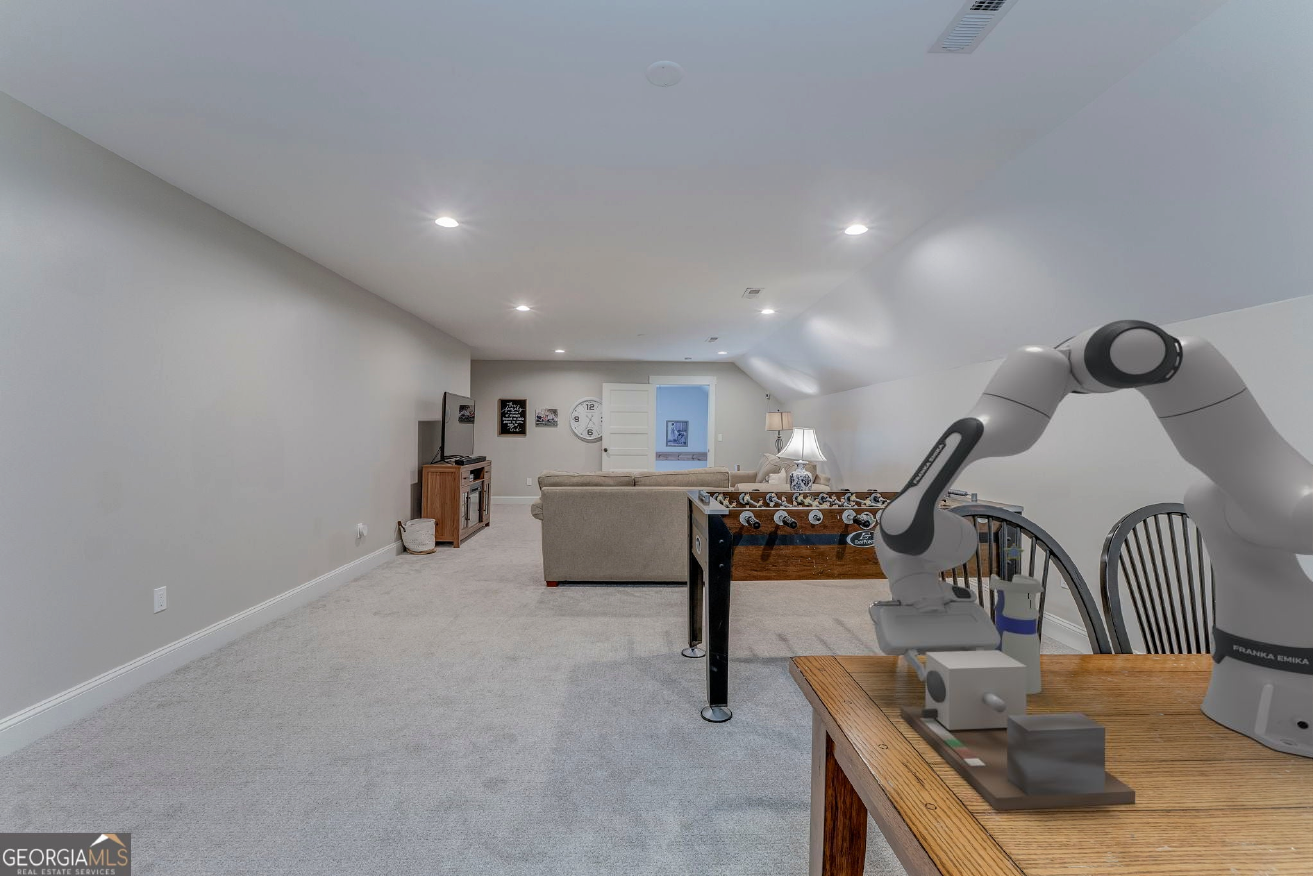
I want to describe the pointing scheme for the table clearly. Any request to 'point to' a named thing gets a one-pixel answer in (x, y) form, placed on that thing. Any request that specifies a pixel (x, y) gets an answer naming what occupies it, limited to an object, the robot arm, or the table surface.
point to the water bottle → (1019, 621)
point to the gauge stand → (1029, 760)
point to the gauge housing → (974, 689)
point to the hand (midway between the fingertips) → (954, 678)
